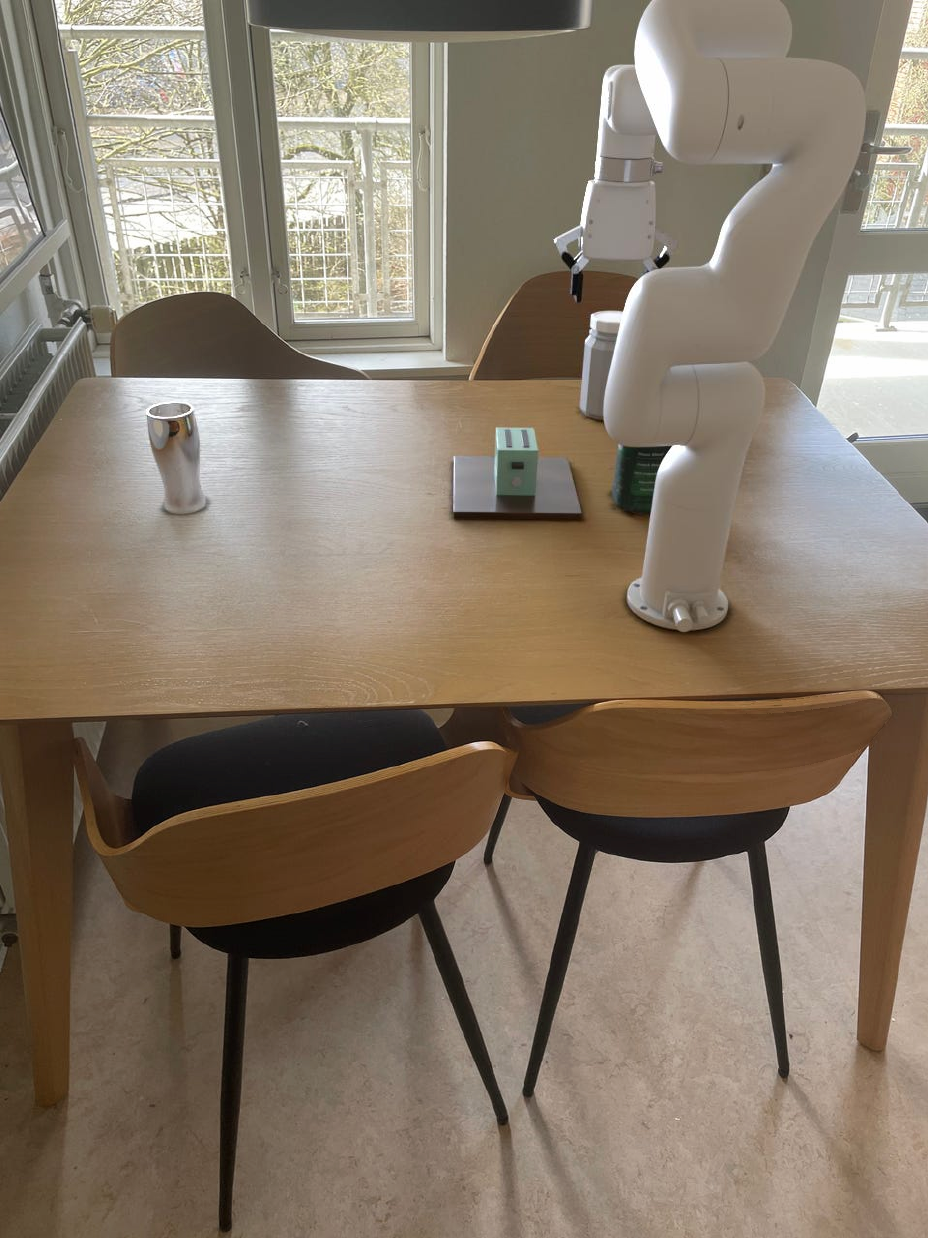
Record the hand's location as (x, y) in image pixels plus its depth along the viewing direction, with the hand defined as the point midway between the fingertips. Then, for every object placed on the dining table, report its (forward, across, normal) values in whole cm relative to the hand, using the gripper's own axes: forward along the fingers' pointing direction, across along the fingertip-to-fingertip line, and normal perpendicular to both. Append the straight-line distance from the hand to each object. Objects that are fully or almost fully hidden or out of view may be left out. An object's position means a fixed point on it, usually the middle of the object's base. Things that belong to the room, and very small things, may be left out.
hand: (610, 300), depth 134 cm
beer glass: (+28, +63, +11) cm, 70 cm away
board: (+28, +13, +4) cm, 31 cm away
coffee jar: (+28, -6, +8) cm, 30 cm away
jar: (+28, -6, -31) cm, 43 cm away
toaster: (+27, +13, +5) cm, 30 cm away
